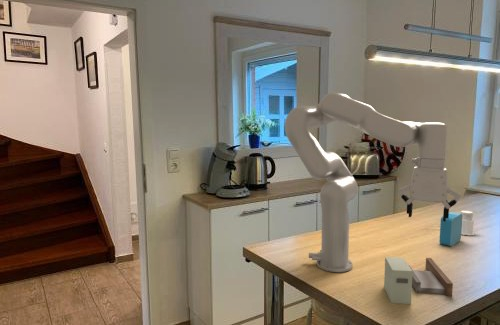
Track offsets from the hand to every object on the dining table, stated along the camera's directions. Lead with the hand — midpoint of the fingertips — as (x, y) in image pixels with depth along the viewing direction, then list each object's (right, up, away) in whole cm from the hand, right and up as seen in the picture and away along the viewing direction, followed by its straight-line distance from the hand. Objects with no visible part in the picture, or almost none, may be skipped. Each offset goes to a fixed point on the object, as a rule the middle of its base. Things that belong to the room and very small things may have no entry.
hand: (426, 218), depth 118 cm
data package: (+29, -17, +42) cm, 54 cm away
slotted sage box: (-10, -23, -2) cm, 25 cm away
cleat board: (+2, -22, +7) cm, 23 cm away
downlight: (+42, -15, +53) cm, 70 cm away
